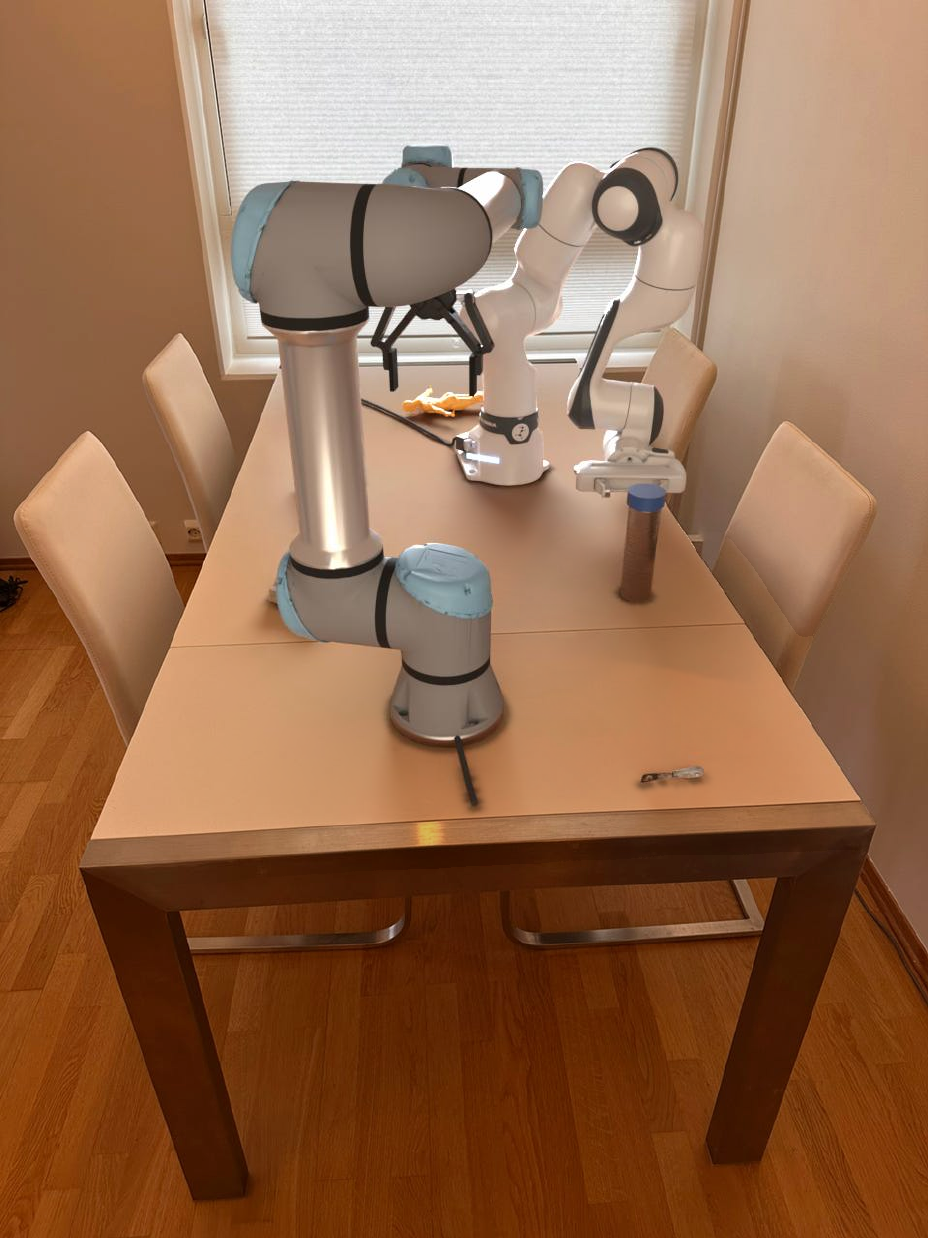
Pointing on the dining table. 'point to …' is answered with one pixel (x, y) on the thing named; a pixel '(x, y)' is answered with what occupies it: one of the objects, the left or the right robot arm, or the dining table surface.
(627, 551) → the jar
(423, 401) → the human figure
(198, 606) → the dining table surface
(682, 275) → the right robot arm
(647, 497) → the lid
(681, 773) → the putty knife
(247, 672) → the dining table surface
